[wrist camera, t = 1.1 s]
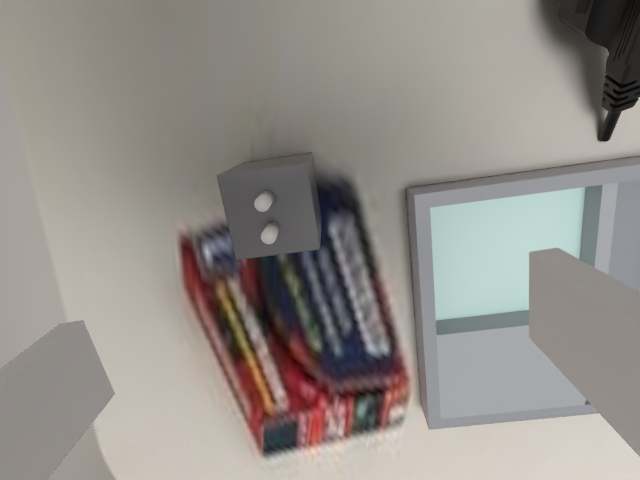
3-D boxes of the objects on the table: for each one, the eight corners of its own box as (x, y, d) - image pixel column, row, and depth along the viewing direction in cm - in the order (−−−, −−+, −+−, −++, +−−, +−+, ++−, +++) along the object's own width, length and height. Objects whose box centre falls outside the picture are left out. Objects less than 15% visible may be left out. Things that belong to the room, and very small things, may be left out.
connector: (244, 162, 27) (207, 180, 18) (311, 152, 26) (304, 166, 18) (257, 227, 28) (229, 270, 20) (321, 218, 28) (319, 259, 20)
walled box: (405, 187, 27) (414, 195, 24) (689, 148, 26) (731, 152, 23) (420, 404, 33) (429, 429, 30) (650, 381, 32) (680, 405, 29)
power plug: (570, 160, 25) (635, -37, 16) (513, 101, 30) (538, -78, 20) (655, 129, 25) (776, -96, 15) (584, 75, 29) (643, -124, 20)
